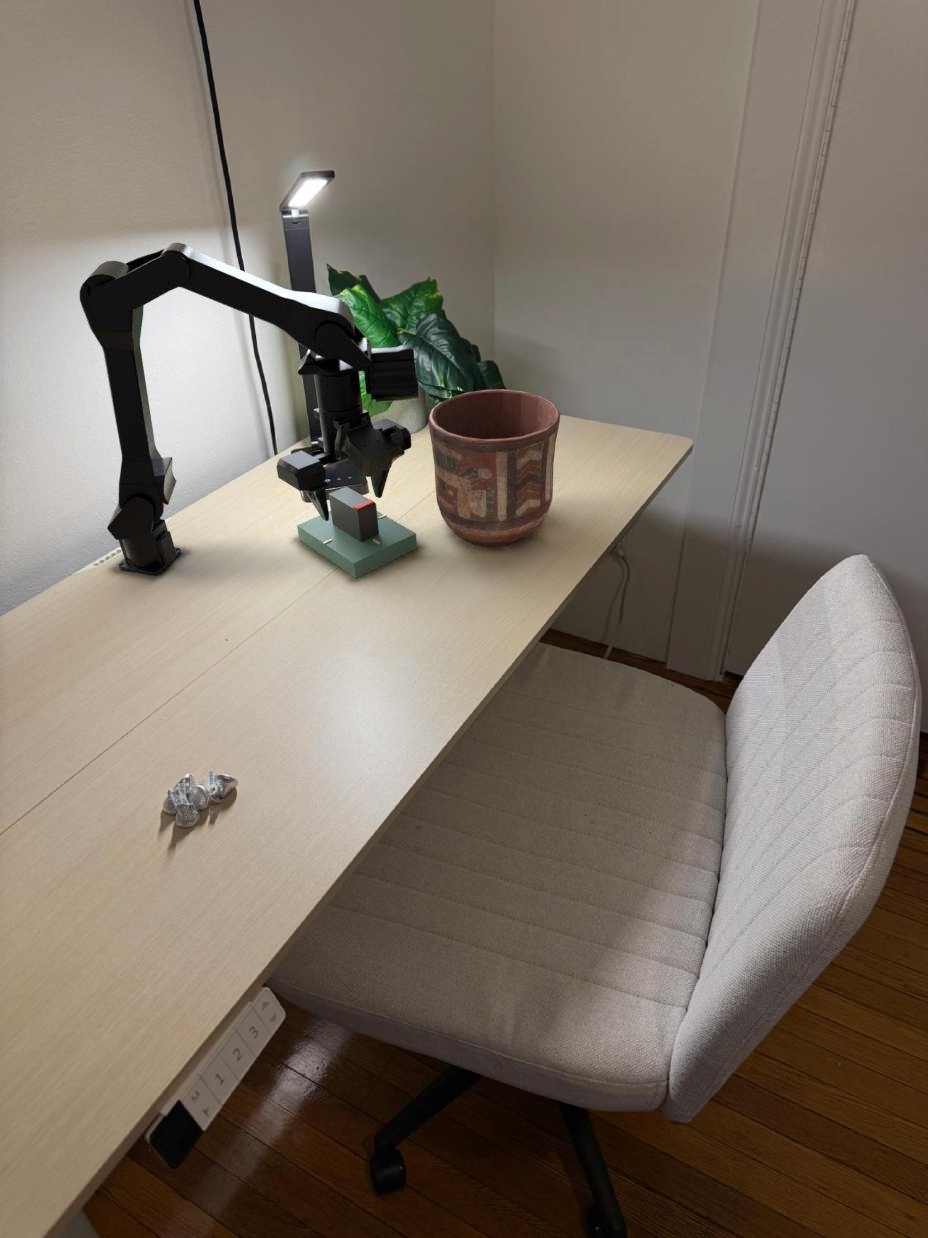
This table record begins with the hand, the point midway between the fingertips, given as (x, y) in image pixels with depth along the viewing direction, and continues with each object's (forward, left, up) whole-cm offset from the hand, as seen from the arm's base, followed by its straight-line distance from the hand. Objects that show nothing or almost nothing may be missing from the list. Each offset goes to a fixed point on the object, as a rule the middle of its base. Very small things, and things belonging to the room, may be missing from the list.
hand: (352, 508), depth 116 cm
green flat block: (0, 0, -6) cm, 6 cm away
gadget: (0, 0, -3) cm, 3 cm away
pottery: (+18, +10, -6) cm, 22 cm away
